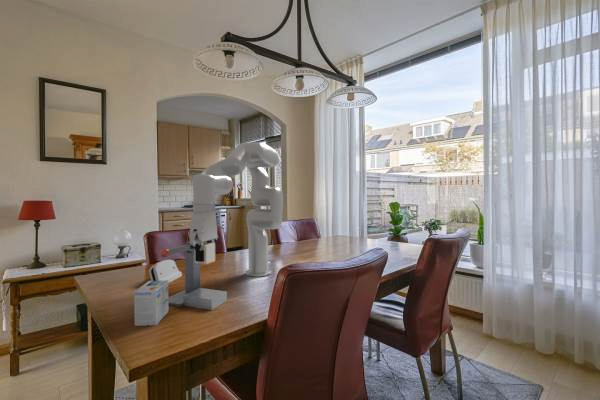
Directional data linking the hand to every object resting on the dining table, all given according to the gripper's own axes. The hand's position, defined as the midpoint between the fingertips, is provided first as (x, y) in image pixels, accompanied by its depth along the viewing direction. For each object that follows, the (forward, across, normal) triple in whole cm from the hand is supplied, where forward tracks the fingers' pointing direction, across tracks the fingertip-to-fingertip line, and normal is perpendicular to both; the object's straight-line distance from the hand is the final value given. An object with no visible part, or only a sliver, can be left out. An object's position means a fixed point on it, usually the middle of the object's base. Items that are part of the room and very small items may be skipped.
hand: (204, 259), depth 108 cm
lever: (-1, -4, -13) cm, 13 cm away
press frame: (+16, -2, -4) cm, 17 cm away
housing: (+1, 0, 0) cm, 1 cm away
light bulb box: (+16, +16, -8) cm, 24 cm away
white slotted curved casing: (+16, -17, -35) cm, 42 cm away
